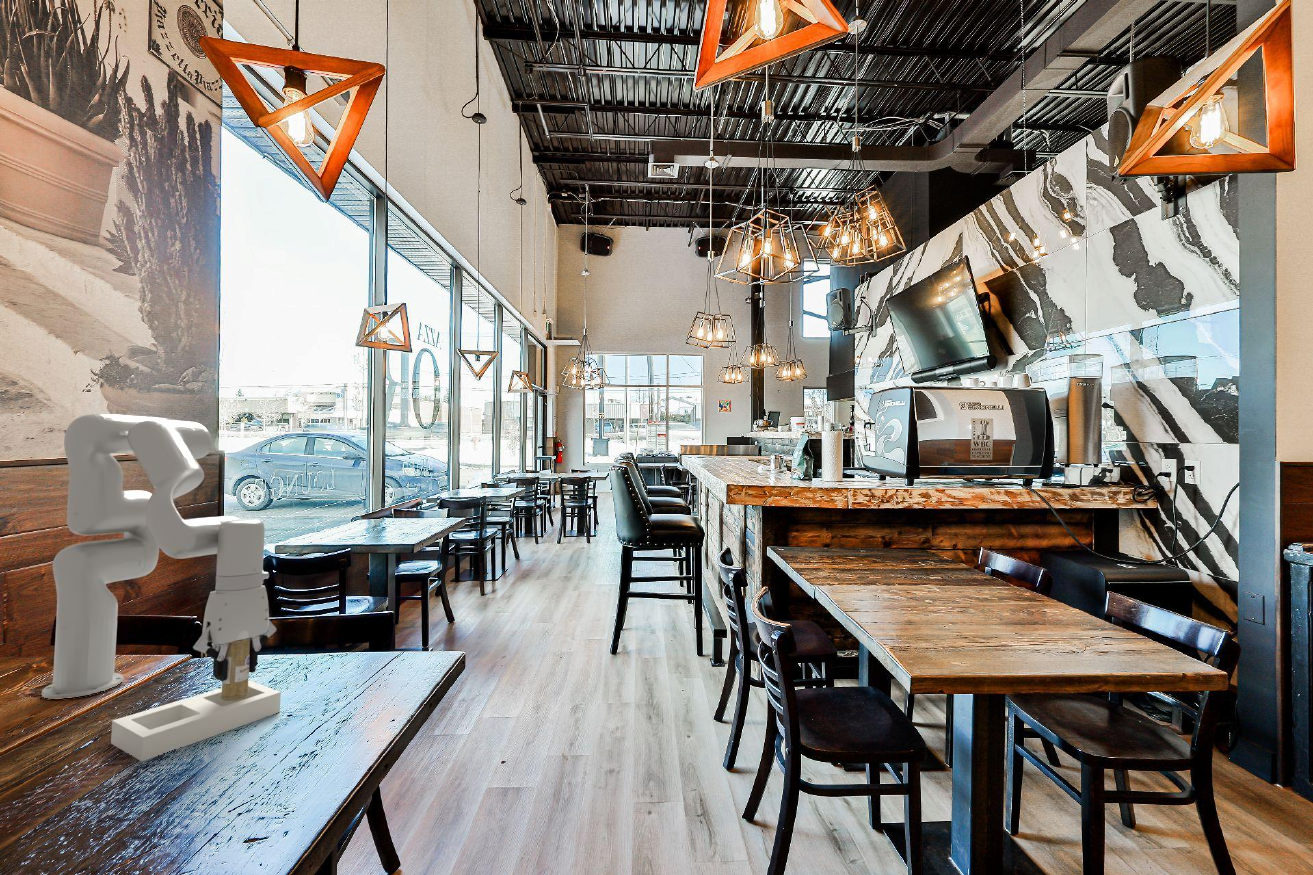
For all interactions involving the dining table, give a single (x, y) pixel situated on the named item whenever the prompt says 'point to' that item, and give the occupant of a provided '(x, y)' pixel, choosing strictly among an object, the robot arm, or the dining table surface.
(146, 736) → the condiment rack
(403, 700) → the dining table surface
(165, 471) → the robot arm
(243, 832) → the dining table surface
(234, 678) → the sprinkles bottle
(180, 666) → the dining table surface
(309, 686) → the dining table surface
